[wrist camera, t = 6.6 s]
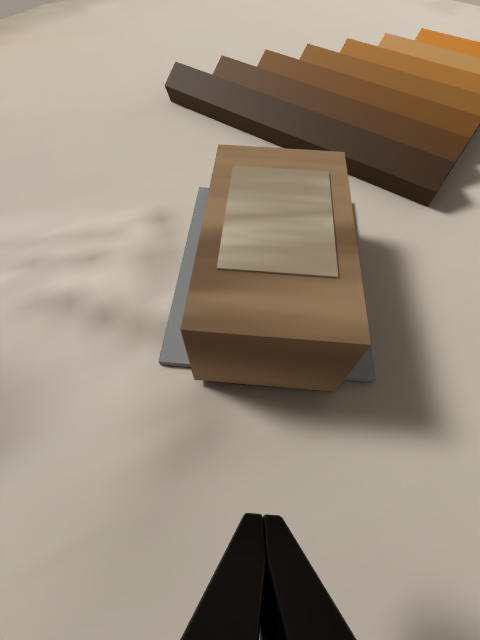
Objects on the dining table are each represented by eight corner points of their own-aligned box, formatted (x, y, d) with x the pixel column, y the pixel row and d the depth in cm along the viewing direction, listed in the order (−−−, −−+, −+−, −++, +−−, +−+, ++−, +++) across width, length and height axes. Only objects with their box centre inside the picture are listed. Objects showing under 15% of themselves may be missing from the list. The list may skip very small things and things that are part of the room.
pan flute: (168, 110, 32) (421, 216, 24) (161, 68, 29) (446, 175, 22) (300, 29, 43) (504, 86, 35) (305, -7, 40) (528, 47, 32)
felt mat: (372, 382, 17) (375, 379, 17) (160, 364, 17) (158, 361, 17) (348, 201, 24) (350, 197, 24) (199, 192, 25) (199, 187, 24)
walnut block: (372, 343, 12) (344, 150, 18) (179, 328, 12) (218, 142, 18) (335, 391, 16) (324, 222, 23) (194, 379, 17) (221, 215, 23)
